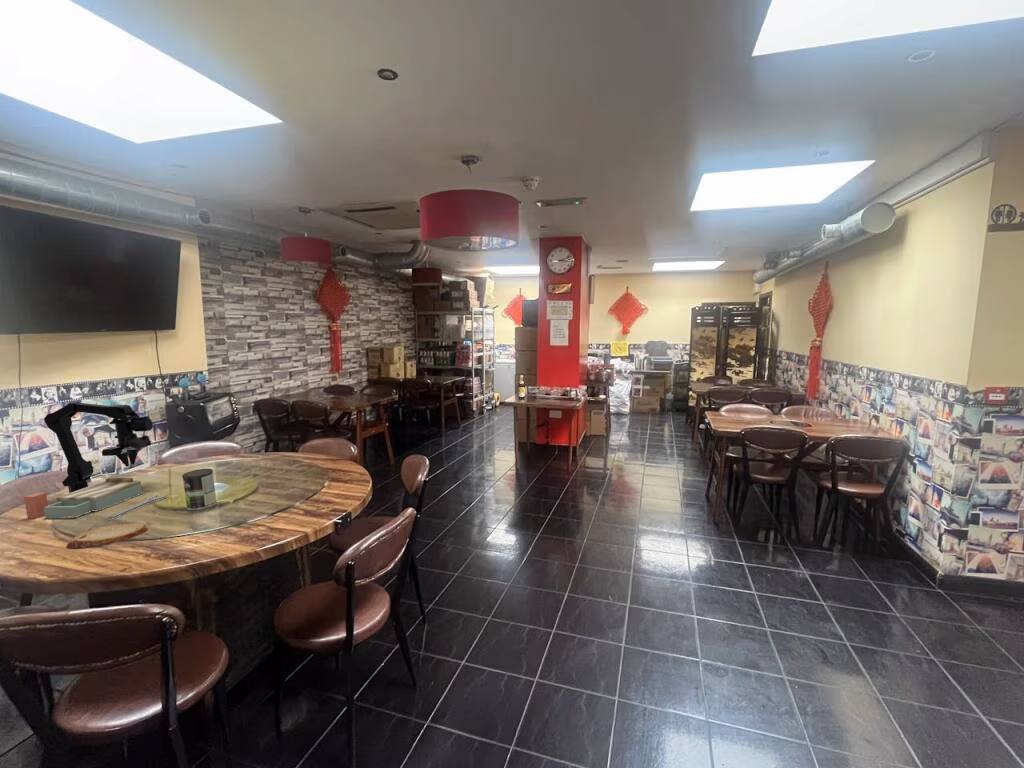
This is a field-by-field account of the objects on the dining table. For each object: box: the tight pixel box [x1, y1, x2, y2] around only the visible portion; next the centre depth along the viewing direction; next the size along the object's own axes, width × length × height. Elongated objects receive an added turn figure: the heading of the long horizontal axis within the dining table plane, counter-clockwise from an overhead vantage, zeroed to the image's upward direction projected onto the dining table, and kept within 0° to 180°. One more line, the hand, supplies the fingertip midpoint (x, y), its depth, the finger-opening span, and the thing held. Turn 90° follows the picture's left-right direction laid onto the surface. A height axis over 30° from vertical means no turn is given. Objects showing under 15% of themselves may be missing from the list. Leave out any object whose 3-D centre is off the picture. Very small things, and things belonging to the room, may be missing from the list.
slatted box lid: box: [56, 477, 142, 501], centre depth 191 cm, size 18×20×3 cm
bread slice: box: [65, 522, 149, 550], centre depth 155 cm, size 18×18×4 cm
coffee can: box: [181, 468, 218, 511], centre depth 181 cm, size 10×10×14 cm
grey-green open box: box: [44, 482, 143, 519], centre depth 189 cm, size 18×26×5 cm
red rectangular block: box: [23, 492, 49, 519], centre depth 179 cm, size 4×4×9 cm
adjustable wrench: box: [104, 493, 168, 520], centre depth 183 cm, size 25×6×2 cm, turn 169°
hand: (130, 465), depth 205 cm, fingers open, 2 cm apart
